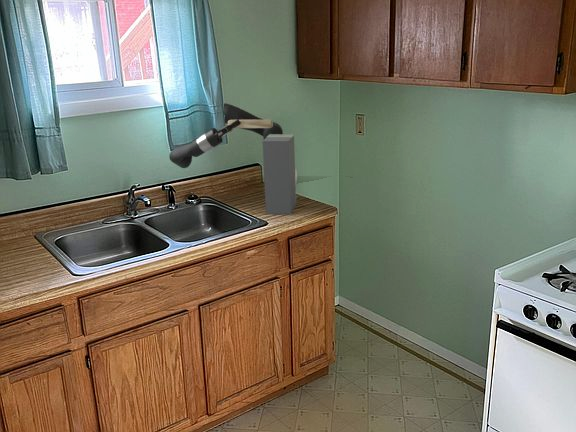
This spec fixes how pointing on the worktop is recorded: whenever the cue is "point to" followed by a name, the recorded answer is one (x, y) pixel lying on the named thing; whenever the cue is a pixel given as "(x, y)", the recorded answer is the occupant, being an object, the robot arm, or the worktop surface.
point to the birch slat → (253, 123)
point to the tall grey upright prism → (279, 173)
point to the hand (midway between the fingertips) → (240, 120)
